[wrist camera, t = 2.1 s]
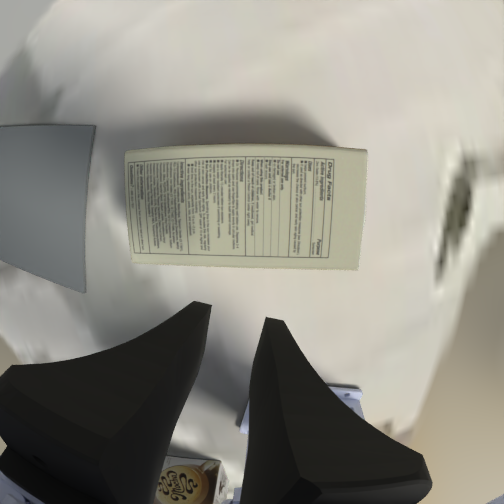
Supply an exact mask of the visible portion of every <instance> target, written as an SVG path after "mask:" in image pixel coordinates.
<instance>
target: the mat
mask: <svg viewBox="0 0 504 504" xmlns="http://www.w3.org/2000/svg"><path fill="white" fill-rule="evenodd" d="M95 127H96V126H87V125H33V126H12V127H0V260H2V261H4V262H6V263H8V264H11V265H13V266H15V267H17V268H20V269H22V270H24V271H27V272H29V273H32V274H34V275H36V276H39V277H41V278H44V279H46V280H49V281H52V282H54V283H57V284H59V285H62V286H65V287H67V288H70V289H73V290H75V291H78V292H81V293H85V292H86V282H85V218H86V201H87V188H88V177H89V168H90V160H91V153H92V146H93V139H94V133H95Z"/></svg>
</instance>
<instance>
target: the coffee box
mask: <svg viewBox="0 0 504 504" xmlns="http://www.w3.org/2000/svg"><path fill="white" fill-rule="evenodd" d="M228 485H229V479H228V477H227V475H226V472H225V470H224V467H223V465H222V462H221V461H216V460H200V459H189V458H180V457H172V456H166V458H165V461H164V465H163V468H162V472H161V476H160V479H159V483H158V487H157V491H156V495H155V499H154V503H153V504H221V503H222V502H223V501H224V500H226V499H227V492H228Z"/></svg>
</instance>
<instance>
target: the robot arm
mask: <svg viewBox="0 0 504 504" xmlns="http://www.w3.org/2000/svg"><path fill="white" fill-rule="evenodd" d="M211 307H212V305H209V304H205V303H201V302H197V301H194V302H192V303H190V304H189V305H187V306H186V307H185V308H183V309H182V310H181V311H179V312H178V313H176V314H175V315H173V316H172V317H171V318H169V319H167V320H166V321H164V322H163V323H161V324H160V325H158V326H157V327H155V328H153V329H151V330H149V331H148V332H146V333H144V334H142V335H141V336H139V337H137V338H135V339H133V340H130V341H128V342H126V343H123V344H121V345H118V346H116V347H113V348H111V349H107V350H104V351H101V352H98V353H94V354H91V355H88V356H84V357H80V358H75V359H70V360H65V361H59V362H52V363H43V364H27V365H12V366H10V368H8V369H7V370H6V371H5V372H4V374H3V375H1V376H0V436H1V438H2V439H3V441H4V442H5V443H6V445H7V447H6V449H5V450H4V452H3V453H2V455H1V456H0V504H153V503H154V499H155V495H156V491H157V487H158V483H159V479H160V476H161V472H162V468H163V465H164V461H165V458H166V454H167V451H168V447H169V444H170V441H171V437H172V434H173V431H174V428H175V426H176V423H177V421H178V418H179V416H180V414H181V411H182V409H183V407H184V405H185V402H186V400H187V398H188V395H189V393H190V391H191V388H192V386H193V384H194V382H195V379H196V377H197V374H198V371H199V368H200V364H201V361H202V358H203V354H204V350H205V344H206V337H207V331H208V325H209V319H210V313H211ZM346 393H347V394H346ZM362 395H363V393H362V390H360V389H350V388H339V387H329V386H327V385H326V384H325V382H324V381H323V380H322V379H321V378H320V376H319V375H318V374H317V372H316V371H315V370H314V369H313V367H312V366H311V365H310V363H309V362H308V360H307V359H306V357H305V356H304V354H303V353H302V351H301V350H300V348H299V346H298V345H297V343H296V341H295V340H294V338H293V336H292V334H291V333H290V331H289V329H288V327H287V326H286V324H285V322H284V321H283V320H278V319H273V318H268V317H266V318H265V322H264V326H263V329H262V333H261V336H260V340H259V343H258V347H257V351H256V354H255V358H254V361H253V367H252V373H251V380H250V391H249V401H248V405H247V408H246V411H245V414H244V417H243V420H242V423H241V426H240V432H241V433H244V434H248V441H247V451H246V460H245V470H244V478H243V484H242V487H241V488H235V489H234V496H233V499H226V500H224V501H223V502H222V503H221V504H417V503H418V502H419V501H421V500H422V499H423V498H424V497H425V496H426V495H427V494H428V493H429V491H430V490H431V488H432V480H431V477H430V474H429V471H428V469H427V466H426V463H425V460H424V458H423V455H422V454H420V453H418V452H416V451H414V450H412V449H410V448H408V447H406V446H404V445H402V444H401V443H399V442H397V441H395V440H393V439H391V438H390V437H388V436H387V435H385V434H384V433H382V432H381V431H379V430H378V429H376V428H375V427H373V426H372V425H370V424H369V423H368V422H366V421H365V418H364V415H363V411H362V408H361V404H360V401H359V400H360V398H361V397H362ZM486 504H504V494H503V495H501V496H499V497H497V498H495V499H494V500H492V501H490V502H488V503H486Z"/></svg>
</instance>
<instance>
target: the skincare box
mask: <svg viewBox="0 0 504 504" xmlns="http://www.w3.org/2000/svg"><path fill="white" fill-rule="evenodd" d="M367 168H368V152H367V150H366V149H355V148H344V147H332V146H318V145H299V144H263V143H233V144H204V145H181V146H167V147H157V148H146V149H138V150H128V151H126V152H125V155H124V176H125V198H126V213H127V226H128V236H129V245H130V252H131V260H132V263H136V264H156V265H184V266H207V267H235V268H270V269H317V270H358V269H359V262H360V253H361V244H362V235H363V228H364V224H365V216H366V185H367Z"/></svg>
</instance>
